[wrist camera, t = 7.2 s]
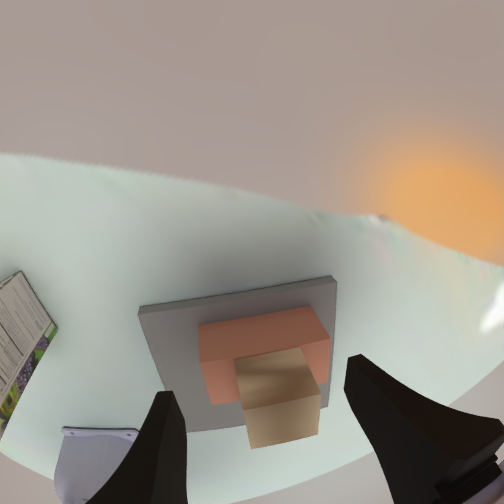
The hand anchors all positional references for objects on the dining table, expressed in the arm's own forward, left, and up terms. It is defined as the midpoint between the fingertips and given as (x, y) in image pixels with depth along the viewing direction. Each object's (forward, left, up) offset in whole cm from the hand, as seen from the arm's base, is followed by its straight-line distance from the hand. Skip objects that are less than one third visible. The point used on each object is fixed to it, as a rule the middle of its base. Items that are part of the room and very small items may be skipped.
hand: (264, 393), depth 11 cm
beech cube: (+1, -5, -5) cm, 7 cm away
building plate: (0, -8, -10) cm, 13 cm away
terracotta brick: (+1, -4, -9) cm, 10 cm away
